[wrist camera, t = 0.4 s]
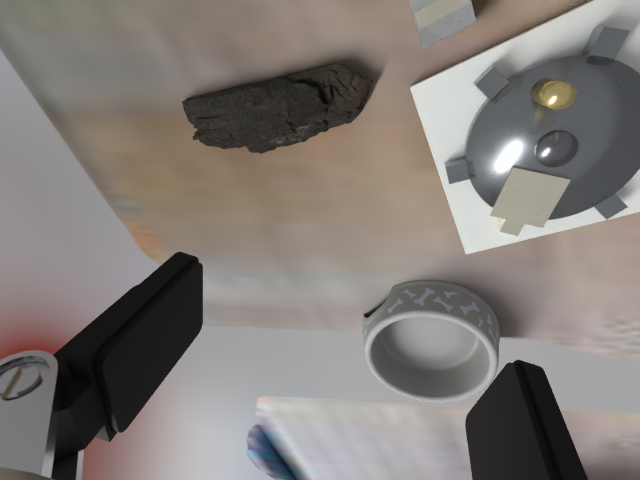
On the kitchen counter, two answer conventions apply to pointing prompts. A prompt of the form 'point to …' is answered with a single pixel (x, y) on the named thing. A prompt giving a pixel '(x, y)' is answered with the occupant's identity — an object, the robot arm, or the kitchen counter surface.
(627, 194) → the base plate
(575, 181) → the sprocket
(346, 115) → the wood
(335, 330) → the kitchen counter surface
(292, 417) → the kitchen counter surface
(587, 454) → the kitchen counter surface
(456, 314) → the dog bowl
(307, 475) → the kitchen counter surface
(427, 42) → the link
